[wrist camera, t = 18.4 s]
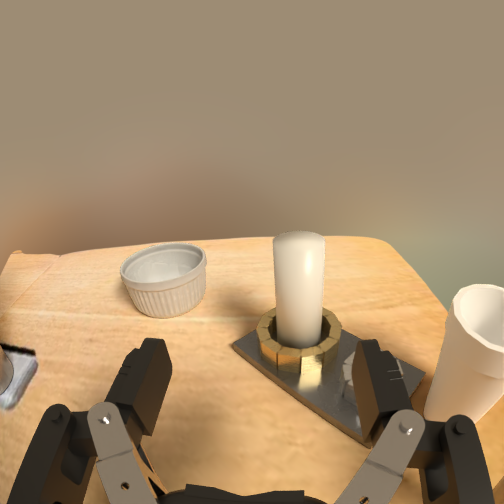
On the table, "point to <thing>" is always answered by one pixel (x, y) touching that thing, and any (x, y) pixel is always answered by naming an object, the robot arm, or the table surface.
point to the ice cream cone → (499, 492)
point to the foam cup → (470, 356)
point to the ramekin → (166, 279)
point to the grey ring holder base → (316, 370)
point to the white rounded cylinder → (299, 288)
